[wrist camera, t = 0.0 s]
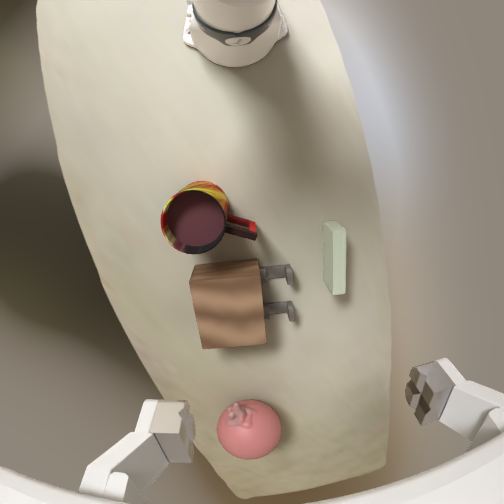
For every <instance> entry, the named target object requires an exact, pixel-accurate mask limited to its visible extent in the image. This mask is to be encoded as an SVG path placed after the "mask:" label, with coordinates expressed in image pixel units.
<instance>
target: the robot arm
mask: <svg viewBox="0 0 504 504" xmlns="http://www.w3.org/2000/svg"><path fill="white" fill-rule="evenodd" d="M187 4H188V5H189V7H188V11H187V17H186V23H185V28H184V34H183V41H184V43H185V44H187V45H189V46H191V47H194V48H196V49H198V50H199V51H200V52H201V53H202V54H203V55H204V56H205V57H206V58H207V59H209V60H210V61H212V62H214V63H216V64H218V65H222V66H226V67H243V66H247V65H251V64H253V63H255V62H257V61H259V60H261V59H262V58H263V57H265V56H266V55H267V54H268V53H269V51H270V50H271V48H272V47H273V45H274V44H275V43H276V41H278V40H280V39H281V38H283V37H284V36H285V35H286V34H287V32H288V28H287V25H286V23H285V20H284V18H283V15H282V13H281V10H280V8H279V5H278V3H277V0H187ZM189 32H190V34H188V33H189ZM409 376H410V378H411V380H410V381H409V382H408V383H407V385H406V389H405V393H406V399H407V402H408V404H409V406H410V407H412V408H414V409H415V413H414V414H415V416H416V418H417V420H418V421H419V423H420V425H421V426H422V425H425V424H428V423H431V422H434V421H437V420H439V421H440V422H442V423H444V424H445V425H447V426H448V427H450V428H452V429H454V430H455V431H456V432H458V433H460V434H461V435H463V436H464V437H466V438H468V439H470V440H471V441H472V442H471V444H470V445H469V447H468V448H467V451H466V453H465V454H463V455H461V456H458V457H456V458H454V459H452V460H450V461H448V462H445V463H443V464H441V465H439V466H436V467H434V468H431V469H429V470H427V471H424V472H421V473H419V474H416V475H414V476H411V477H408V478H405V479H402V480H399V481H396V482H393V483H390V484H387V485H384V486H381V487H377V488H374V489H370V490H367V491H363V492H359V493H355V494H351V495H347V496H342V497H338V498H333V499H328V500H323V501H318V502H311V503H306V504H504V394H503V393H501V392H498V391H496V390H493V389H490V388H487V387H485V386H482V385H480V384H477V383H475V382H472V381H466V380H465V379H464V378H463V376H462V375H461V374H460V373H459V371H458V370H457V369H456V368H455V367H454V365H452V363H451V362H450V361H449V360H448V359H447V358H442V359H439V360H436V361H432V362H429V363H426V364H423V365H419V366H416V367H413V368H412V369H411V371H410V374H409ZM189 410H190V406H189V403H188V401H187V400H149V399H147V400H145V401H144V403H143V407H142V410H141V413H140V416H139V419H138V423H137V426H136V429H135V432H130V433H129V434H128V435H126V436H125V437H124V438H123V439H121V440H120V441H119V442H118V443H116V444H115V445H114V446H113V447H111V448H110V449H109V450H107V451H106V452H105V453H104V454H102V455H101V456H100V457H98V458H97V459H96V460H95V461H93V462H92V463H91V464H89V465H88V466H87V469H86V471H85V474H84V477H83V480H82V483H81V486H80V488H79V492H74V491H70V490H67V489H63V488H60V487H57V486H54V485H51V484H48V483H44V482H42V481H38V480H36V479H33V478H31V477H28V476H25V475H23V474H20V473H18V472H15V471H13V470H11V469H8V468H6V467H1V466H0V504H151V503H150V502H149V501H148V500H147V499H146V497H145V496H144V495H143V493H144V492H145V491H146V490H147V489H148V488H149V487H150V485H151V484H152V483H153V482H154V481H155V480H156V478H157V477H158V476H159V475H160V474H161V473H162V472H163V470H164V469H165V468H166V467H167V466H168V465H169V462H170V463H192V460H193V452H194V447H193V445H192V441H193V440H194V439H195V433H196V431H195V421H194V417H193V415H192V414H190V413H189Z"/></svg>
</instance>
